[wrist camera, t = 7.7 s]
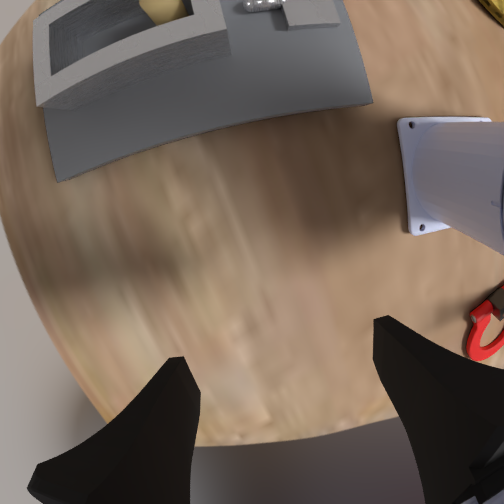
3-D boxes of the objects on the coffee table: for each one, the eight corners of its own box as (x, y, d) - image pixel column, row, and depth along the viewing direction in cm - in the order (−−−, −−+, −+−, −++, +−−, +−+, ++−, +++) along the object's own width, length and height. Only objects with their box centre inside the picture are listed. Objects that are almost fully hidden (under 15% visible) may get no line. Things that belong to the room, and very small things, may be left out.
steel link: (212, -21, 11) (203, -56, 8) (231, 55, 13) (226, 28, 10) (67, 36, 12) (33, 20, 8) (75, 111, 14) (36, 106, 10)
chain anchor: (318, -22, 11) (322, -29, 10) (337, 27, 13) (341, 21, 12) (236, -14, 12) (235, -22, 11) (250, 36, 13) (250, 29, 12)
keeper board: (307, -57, 11) (322, -99, 6) (364, 105, 16) (406, 93, 10) (49, 19, 12) (7, 1, 7) (69, 179, 17) (19, 194, 12)
